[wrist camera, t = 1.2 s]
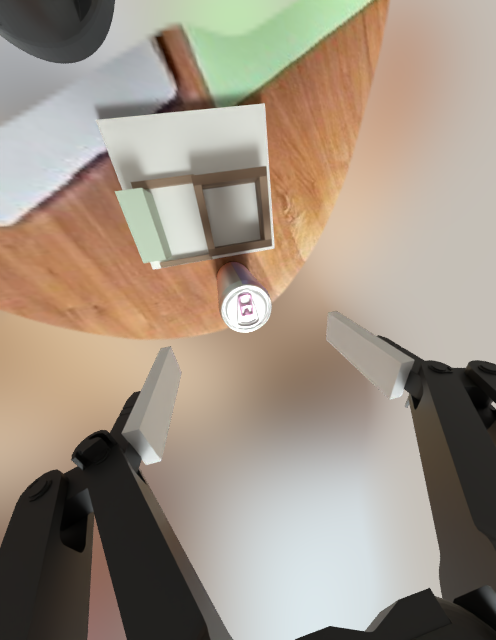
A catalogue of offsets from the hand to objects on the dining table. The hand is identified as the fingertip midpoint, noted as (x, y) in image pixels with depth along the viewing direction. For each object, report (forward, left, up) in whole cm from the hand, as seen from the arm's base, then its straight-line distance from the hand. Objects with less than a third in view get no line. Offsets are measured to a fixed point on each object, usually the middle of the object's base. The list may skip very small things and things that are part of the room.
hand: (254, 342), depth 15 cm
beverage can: (-1, 0, -21) cm, 21 cm away
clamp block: (-10, -10, -19) cm, 24 cm away
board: (-13, -2, -20) cm, 24 cm away
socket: (-10, +2, -19) cm, 21 cm away
